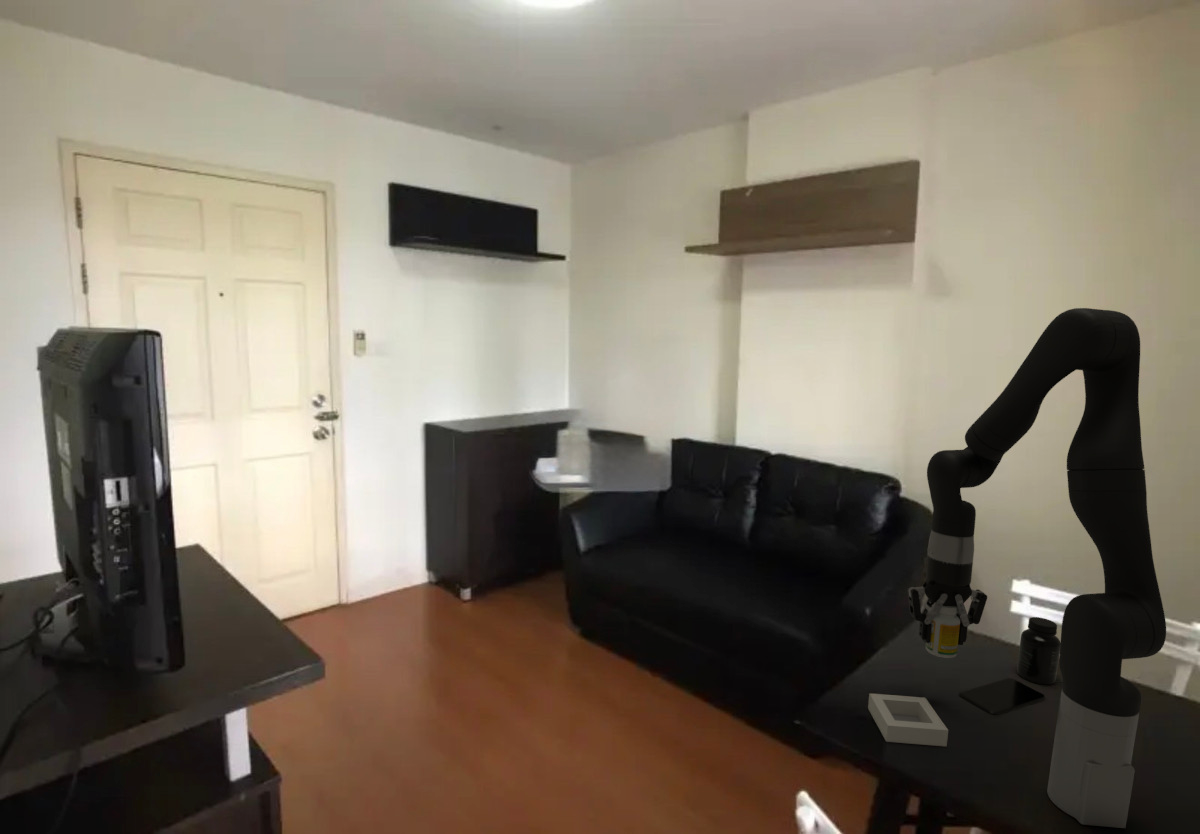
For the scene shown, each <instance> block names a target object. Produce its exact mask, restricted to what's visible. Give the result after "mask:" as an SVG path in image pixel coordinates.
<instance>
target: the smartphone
mask: <svg viewBox="0 0 1200 834" xmlns="http://www.w3.org/2000/svg"><path fill="white" fill-rule="evenodd" d="M958 697H960V698H961V699H963V700H965V701H966V702H968V703H969V704H971V705H974V706H975V707H976V708H979V710H982V711H983V712H985V713H986V714H989V715H992V716H999V715H1000V716H1001V715H1003V714H1006V713H1009V712H1013V711H1016V710H1019V709H1022V708H1025V707H1027V706H1031V705H1034V704H1038V703H1040V702H1043V701H1046V700H1047V696H1046V695H1044V693H1042V692H1040V691H1039V690H1038V691H1037V690H1036V689H1034V688H1032V687H1030V686H1028V685H1026V684H1025V683H1022V682H1020V681H1018V680H1017V679H1015V678H1012V677H1006V678H1002V679H1000V680H996V681H992V682H989V683H986V684H982V685H979V686H976V687H971V688H969V689H965V690H962V691H960V692H958Z"/></svg>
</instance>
